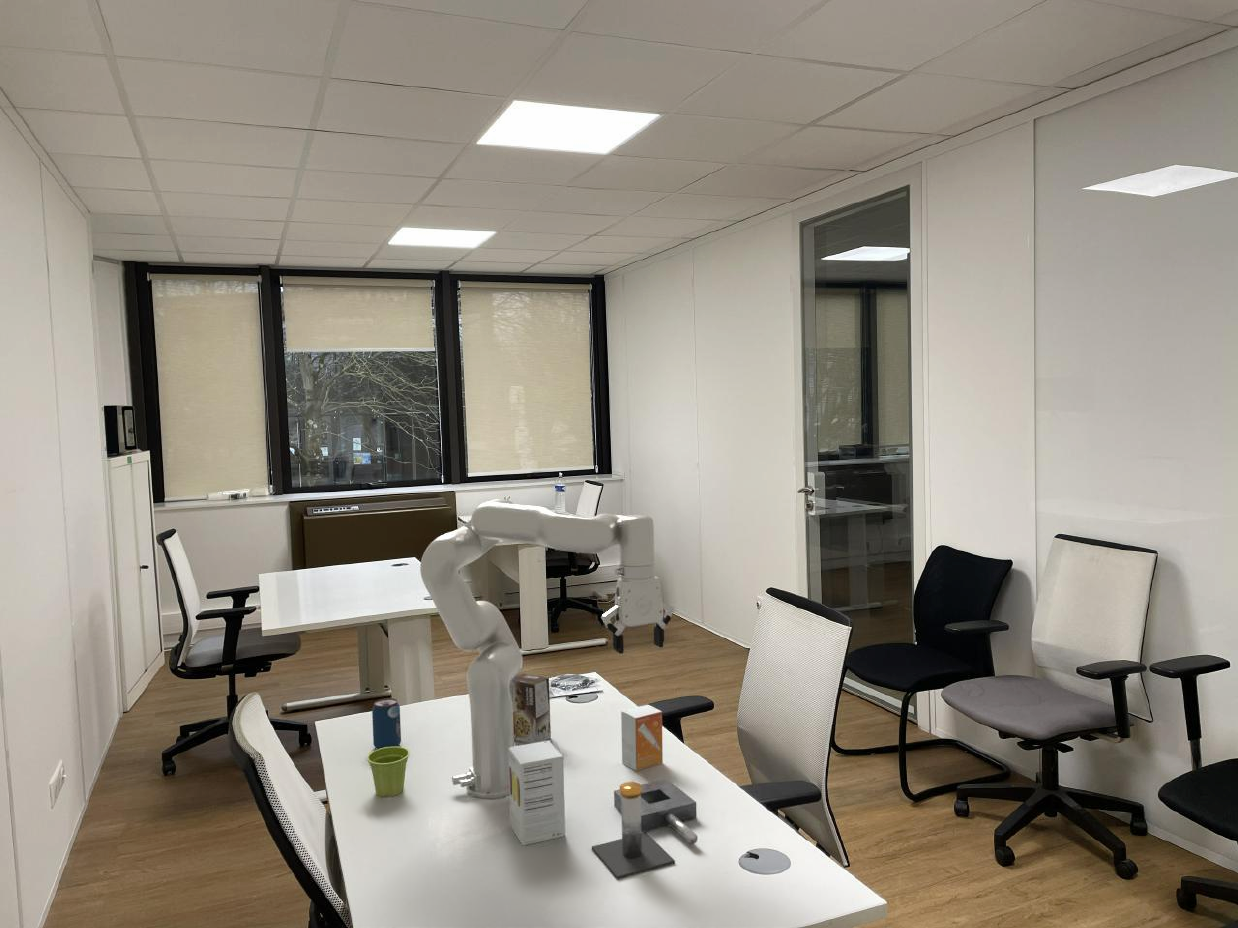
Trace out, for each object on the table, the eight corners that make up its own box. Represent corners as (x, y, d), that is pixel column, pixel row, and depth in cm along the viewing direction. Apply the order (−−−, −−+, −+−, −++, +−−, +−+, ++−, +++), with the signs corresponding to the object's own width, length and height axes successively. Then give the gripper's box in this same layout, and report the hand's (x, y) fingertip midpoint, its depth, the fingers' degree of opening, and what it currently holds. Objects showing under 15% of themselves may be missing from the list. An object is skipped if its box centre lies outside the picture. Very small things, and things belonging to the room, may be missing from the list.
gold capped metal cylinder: (617, 850, 164) (616, 784, 163) (637, 845, 166) (635, 780, 165) (627, 861, 161) (625, 793, 160) (646, 855, 162) (645, 788, 161)
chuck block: (663, 855, 163) (663, 837, 163) (614, 806, 184) (614, 790, 184) (721, 839, 169) (721, 822, 169) (667, 793, 190) (667, 778, 190)
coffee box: (552, 737, 224) (550, 677, 223) (537, 745, 219) (535, 684, 218) (524, 731, 229) (523, 672, 228) (509, 739, 224) (507, 679, 223)
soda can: (405, 748, 219) (403, 702, 219) (378, 754, 216) (376, 708, 215) (395, 739, 225) (394, 695, 224) (370, 746, 221) (368, 700, 221)
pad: (617, 879, 155) (617, 876, 155) (591, 849, 166) (591, 846, 166) (674, 863, 160) (674, 860, 160) (646, 835, 171) (646, 832, 171)
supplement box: (509, 825, 177) (506, 746, 176) (551, 816, 181) (549, 738, 180) (522, 846, 168) (520, 763, 167) (566, 836, 172) (564, 755, 171)
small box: (636, 771, 202) (635, 718, 201) (621, 762, 207) (620, 710, 206) (663, 763, 206) (662, 710, 205) (648, 754, 212) (647, 703, 211)
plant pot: (419, 790, 194) (417, 753, 194) (382, 804, 188) (381, 766, 187) (396, 778, 201) (395, 743, 200) (360, 792, 194) (359, 755, 193)
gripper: (608, 578, 179) (610, 658, 180) (680, 570, 186) (681, 647, 187) (594, 573, 186) (596, 650, 187) (664, 565, 193) (665, 639, 194)
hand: (639, 648), depth 187 cm, fingers open, 9 cm apart
